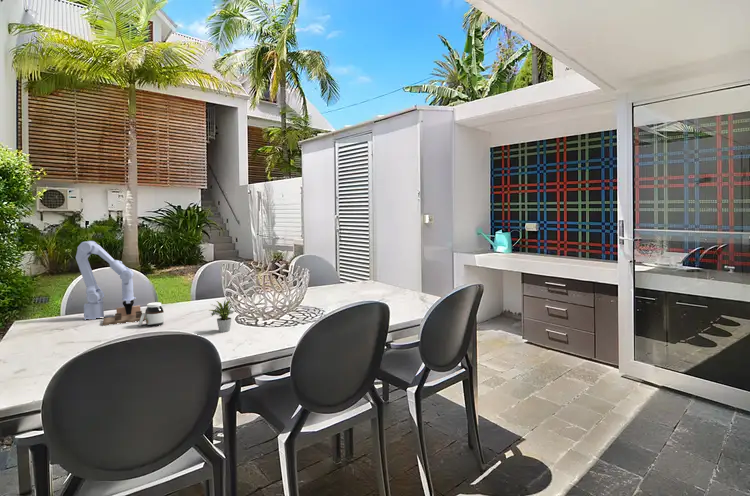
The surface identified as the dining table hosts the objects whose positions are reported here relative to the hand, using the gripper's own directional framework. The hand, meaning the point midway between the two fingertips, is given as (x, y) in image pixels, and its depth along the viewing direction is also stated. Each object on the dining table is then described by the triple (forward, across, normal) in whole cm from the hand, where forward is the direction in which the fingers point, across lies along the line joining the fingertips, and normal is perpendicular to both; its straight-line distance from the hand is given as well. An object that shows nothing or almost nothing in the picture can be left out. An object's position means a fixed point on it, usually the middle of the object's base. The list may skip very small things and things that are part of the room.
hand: (128, 313), depth 246 cm
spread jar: (+2, -30, -10) cm, 32 cm away
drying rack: (+1, -12, 0) cm, 12 cm away
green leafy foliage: (+2, -6, -55) cm, 55 cm away
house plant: (+2, -60, -42) cm, 73 cm away
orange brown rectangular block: (+2, 0, 0) cm, 2 cm away
